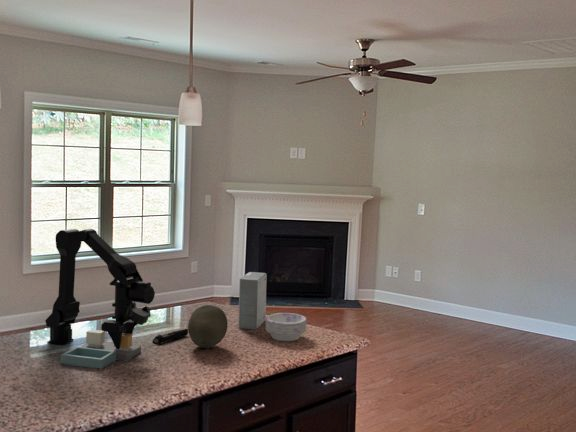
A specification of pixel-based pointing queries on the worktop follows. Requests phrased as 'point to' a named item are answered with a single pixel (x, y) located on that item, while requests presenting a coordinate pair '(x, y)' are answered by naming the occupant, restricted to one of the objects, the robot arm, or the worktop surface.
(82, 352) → the parts tray
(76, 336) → the worktop surface
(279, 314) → the paper bowls
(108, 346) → the block
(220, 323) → the cantaloupe
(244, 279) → the hard drive box
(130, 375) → the worktop surface
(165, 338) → the electric trimmer
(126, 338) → the block
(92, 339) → the block
